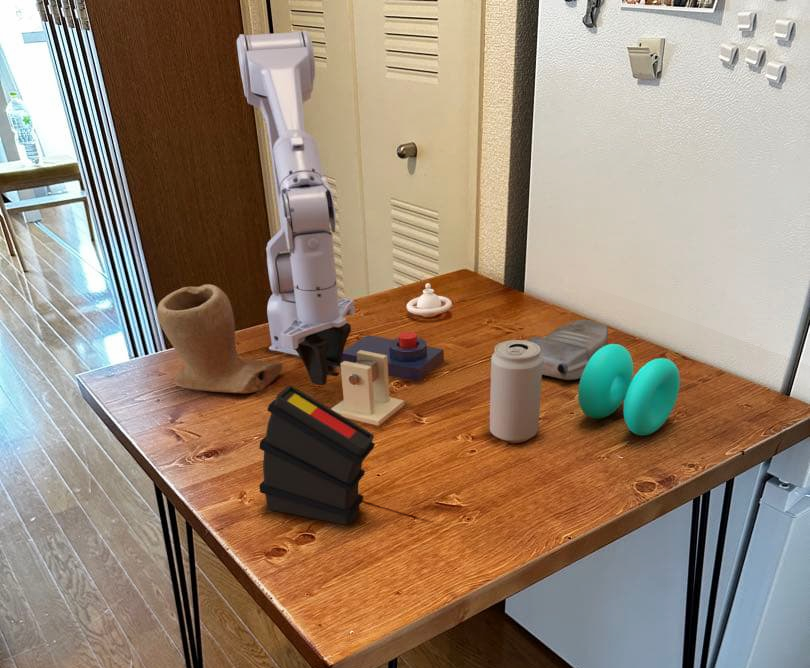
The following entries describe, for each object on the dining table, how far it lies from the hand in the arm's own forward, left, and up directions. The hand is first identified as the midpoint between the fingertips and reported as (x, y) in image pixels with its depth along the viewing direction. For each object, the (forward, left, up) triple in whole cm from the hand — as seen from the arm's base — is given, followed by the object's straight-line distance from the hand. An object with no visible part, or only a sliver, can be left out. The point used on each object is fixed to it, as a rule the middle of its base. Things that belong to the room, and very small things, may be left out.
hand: (325, 379), depth 114 cm
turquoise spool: (+40, +12, -4) cm, 42 cm away
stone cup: (-17, -3, -4) cm, 18 cm away
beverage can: (+28, +3, -4) cm, 28 cm away
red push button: (+5, +15, 0) cm, 16 cm away
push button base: (+2, +15, -4) cm, 16 cm away
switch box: (+7, 0, -4) cm, 8 cm away
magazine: (+16, -24, -4) cm, 29 cm away
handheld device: (+26, +29, -4) cm, 39 cm away
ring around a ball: (-3, +36, -4) cm, 36 cm away
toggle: (+3, 0, +1) cm, 4 cm away
